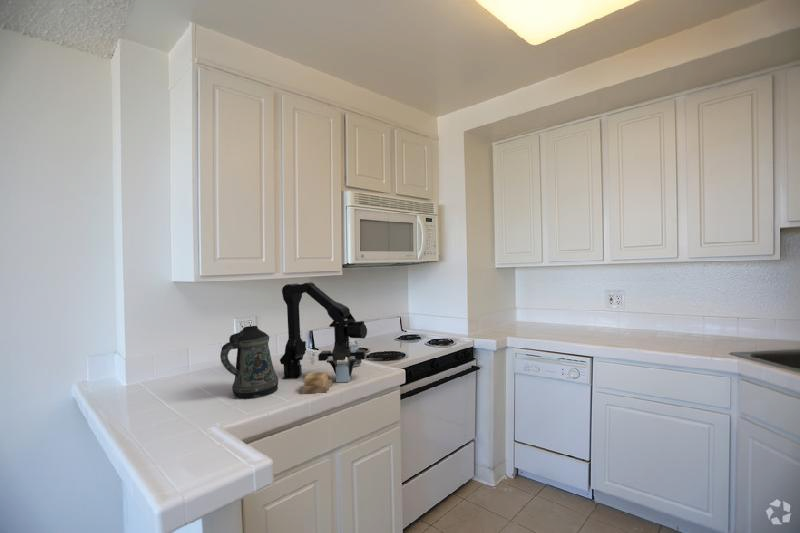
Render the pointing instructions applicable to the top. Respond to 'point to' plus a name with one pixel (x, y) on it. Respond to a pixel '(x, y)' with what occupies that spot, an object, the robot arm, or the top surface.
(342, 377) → the slate block
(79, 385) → the top surface
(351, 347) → the beverage can
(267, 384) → the beer stein
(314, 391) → the bottom block
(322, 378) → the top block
